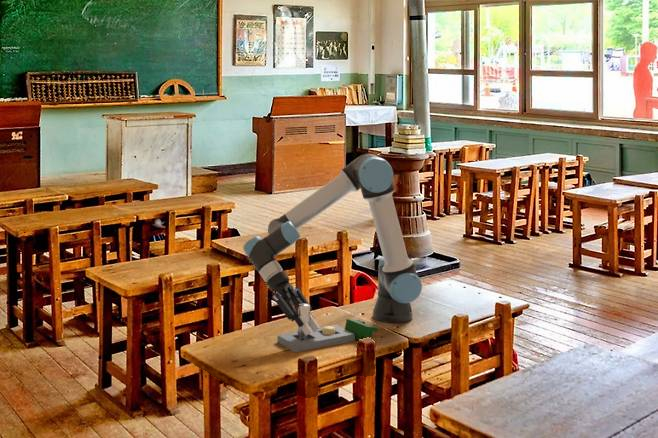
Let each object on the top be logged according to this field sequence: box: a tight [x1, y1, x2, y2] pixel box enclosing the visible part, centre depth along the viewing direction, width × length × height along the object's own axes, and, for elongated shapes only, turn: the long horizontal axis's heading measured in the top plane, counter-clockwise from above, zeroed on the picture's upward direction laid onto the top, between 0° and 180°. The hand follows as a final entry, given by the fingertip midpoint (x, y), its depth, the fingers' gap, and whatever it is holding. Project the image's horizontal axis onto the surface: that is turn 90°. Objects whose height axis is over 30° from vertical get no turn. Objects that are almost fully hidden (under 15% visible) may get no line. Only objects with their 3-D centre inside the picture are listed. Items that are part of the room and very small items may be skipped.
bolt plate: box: [277, 324, 356, 353], centre depth 284 cm, size 24×12×4 cm, turn 122°
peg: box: [297, 303, 311, 341], centre depth 280 cm, size 4×4×12 cm
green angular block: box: [344, 318, 379, 341], centre depth 289 cm, size 12×6×9 cm
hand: (312, 331), depth 278 cm, fingers closed on peg, 4 cm apart
